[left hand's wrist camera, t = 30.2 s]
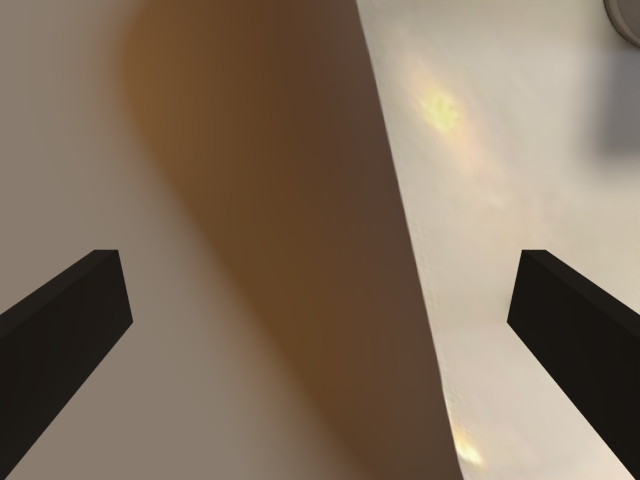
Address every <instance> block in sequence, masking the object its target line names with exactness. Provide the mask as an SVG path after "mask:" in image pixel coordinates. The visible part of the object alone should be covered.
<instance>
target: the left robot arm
mask: <svg viewBox="0 0 640 480" xmlns="http://www.w3.org/2000/svg"><path fill="white" fill-rule="evenodd" d="M605 4H606V7H607V11H608V14H609V17H610V19H611V21H612V23H613V25H614V26H615V28H616V29H617V31H618V32H619V33H620V34H621V35H622V36H623V37H624V38H625V39H626V40H627V41H628V42H630V43H631V44H633V45H635V46H637V47H639V48H640V0H605ZM132 323H133V319H132V314H131V309H130V305H129V300H128V295H127V290H126V286H125V281H124V276H123V271H122V267H121V262H120V257H119V252H118V250H93V251H92V252H90V253H89V254H88V255H86V256H85V257H83V258H82V259H80V260H79V261H77V262H76V263H75V264H73V265H72V266H70V267H69V268H67V269H66V270H64V271H63V272H62V273H60V274H59V275H57V276H56V277H54V278H53V279H51V280H50V281H49V282H47V283H46V284H44V285H43V286H41V287H40V288H38V289H37V290H36V291H34V292H33V293H31V294H30V295H28V296H27V297H25V298H24V299H23V300H21V301H20V302H18V303H17V304H15V305H14V306H12V307H11V308H10V309H8V310H7V311H5V312H4V313H2V314H1V315H0V480H5V478H6V477H7V476H8V475H9V474H10V472H11V471H12V470H13V469H14V467H15V466H16V465H17V464H18V463H19V461H20V460H21V459H22V458H23V456H24V455H25V454H26V453H27V452H28V450H29V449H30V448H31V447H32V445H33V444H34V443H35V442H36V441H37V439H38V438H39V437H40V436H41V434H42V433H43V432H44V431H45V430H46V428H47V427H48V426H49V425H50V423H51V422H52V421H53V420H54V419H55V417H56V416H57V415H58V414H59V412H60V411H61V410H62V409H63V407H64V406H65V405H66V404H67V403H68V401H69V400H70V399H71V398H72V396H73V395H74V394H75V393H76V391H77V390H78V389H79V388H80V387H81V385H82V384H83V383H84V382H85V381H86V379H87V378H88V377H89V376H90V374H91V373H92V372H93V371H94V370H95V368H96V367H97V366H98V365H99V363H100V362H101V361H102V360H103V359H104V357H105V356H106V355H107V354H108V352H109V351H110V350H111V349H112V348H113V346H114V345H115V344H116V343H117V341H118V340H119V339H120V338H121V337H122V335H123V334H124V333H125V332H126V330H127V329H128V328H129V327H130V325H131V324H132ZM507 323H508V324H509V326H510V327H511V328H512V329H513V330H514V332H515V333H516V334H517V335H518V337H519V338H520V339H521V340H522V341H523V343H524V344H525V345H526V346H527V348H528V349H529V350H530V351H531V352H532V354H533V355H534V356H535V357H536V359H537V360H538V361H539V362H540V363H541V365H542V366H543V367H544V368H545V370H546V371H547V372H548V373H549V374H550V376H551V377H552V378H553V379H554V381H555V382H556V383H557V384H558V385H559V387H560V388H561V389H562V390H563V392H564V393H565V394H566V395H567V396H568V398H569V399H570V400H571V401H572V403H573V404H574V405H575V406H576V408H577V409H578V410H579V411H580V412H581V414H582V415H583V416H584V417H585V419H586V420H587V421H588V422H589V423H590V425H591V426H592V427H593V428H594V430H595V431H596V432H597V433H598V434H599V436H600V437H601V438H602V439H603V441H604V442H605V443H606V444H607V445H608V447H609V448H610V449H611V450H612V452H613V453H614V454H615V455H616V456H617V458H618V459H619V460H620V461H621V463H622V464H623V465H624V466H625V467H626V469H627V470H628V471H629V472H630V474H631V475H632V476H633V477H634V478H635V480H640V315H639V314H638V313H636V312H635V311H633V310H632V309H630V308H629V307H628V306H626V305H625V304H623V303H622V302H620V301H619V300H617V299H616V298H615V297H613V296H612V295H610V294H609V293H607V292H606V291H604V290H603V289H602V288H600V287H599V286H597V285H596V284H594V283H593V282H591V281H590V280H589V279H587V278H586V277H584V276H583V275H581V274H580V273H578V272H577V271H576V270H574V269H573V268H571V267H570V266H568V265H567V264H565V263H564V262H563V261H561V260H560V259H558V258H557V257H555V256H554V255H552V254H551V253H550V252H548V251H547V250H522V252H521V257H520V262H519V267H518V271H517V276H516V281H515V286H514V290H513V295H512V300H511V305H510V309H509V314H508V319H507Z"/></svg>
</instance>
